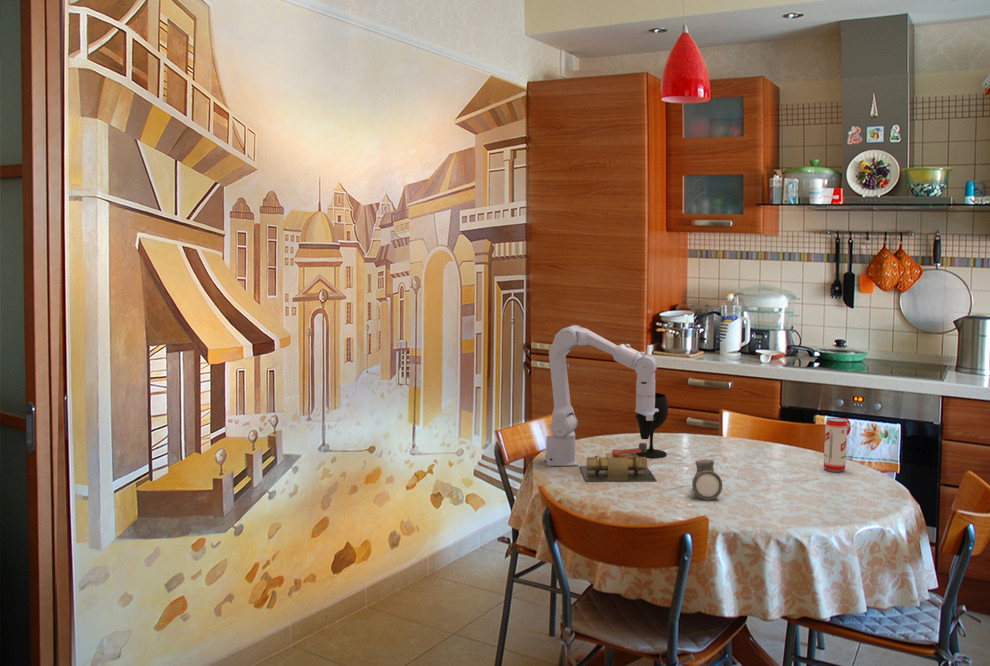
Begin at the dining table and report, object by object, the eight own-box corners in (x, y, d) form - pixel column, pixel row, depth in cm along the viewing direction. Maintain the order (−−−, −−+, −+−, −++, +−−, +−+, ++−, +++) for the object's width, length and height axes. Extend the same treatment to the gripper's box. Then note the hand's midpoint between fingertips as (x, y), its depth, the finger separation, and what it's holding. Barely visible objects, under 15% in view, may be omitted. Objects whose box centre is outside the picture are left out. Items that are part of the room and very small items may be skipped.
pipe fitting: (723, 500, 233) (721, 462, 233) (693, 500, 235) (691, 463, 235) (720, 492, 245) (718, 456, 245) (691, 492, 247) (689, 457, 247)
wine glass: (647, 459, 276) (649, 399, 274) (628, 452, 285) (630, 393, 283) (673, 456, 281) (675, 396, 278) (654, 448, 290) (655, 390, 287)
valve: (585, 482, 252) (586, 463, 251) (579, 467, 268) (579, 449, 267) (656, 481, 252) (656, 463, 252) (646, 466, 268) (646, 449, 267)
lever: (614, 455, 258) (614, 447, 258) (610, 453, 261) (610, 445, 261) (648, 452, 262) (648, 444, 262) (644, 450, 265) (644, 442, 265)
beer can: (845, 468, 266) (848, 418, 264) (844, 473, 260) (847, 422, 258) (824, 466, 268) (826, 416, 266) (822, 471, 263) (824, 420, 261)
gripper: (663, 399, 253) (662, 444, 254) (653, 390, 267) (652, 433, 269) (640, 399, 252) (639, 444, 254) (631, 390, 267) (630, 433, 269)
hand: (644, 438), depth 261 cm, fingers closed
